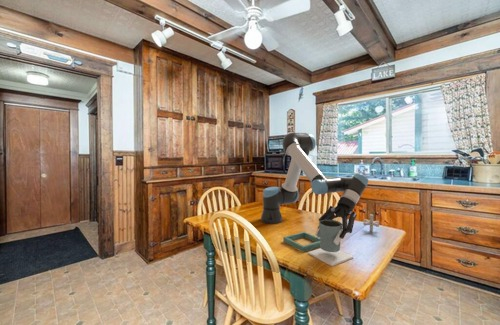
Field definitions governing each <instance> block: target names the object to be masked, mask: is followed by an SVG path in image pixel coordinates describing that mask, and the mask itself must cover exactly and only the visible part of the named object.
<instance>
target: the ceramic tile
mask: <svg viewBox="0 0 500 325" xmlns="http://www.w3.org/2000/svg"><path fill="white" fill-rule="evenodd" d="M307 254H308V255H309V256H312V257H314V258H315V259H317V260H319V261H321V262H323V263H324V264H326V265H329V266H330V267H334V266H337V265H340V264H342V263H345V262H347V261H349V260H352V259H354V256H353V255H351V254H348V253H346V252H344V251H342V250H341V249H340V250H339V251H338V252H327V251H324V250H322V249H321V247H319V248H315V249H312V250H309V251H307Z"/></svg>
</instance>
